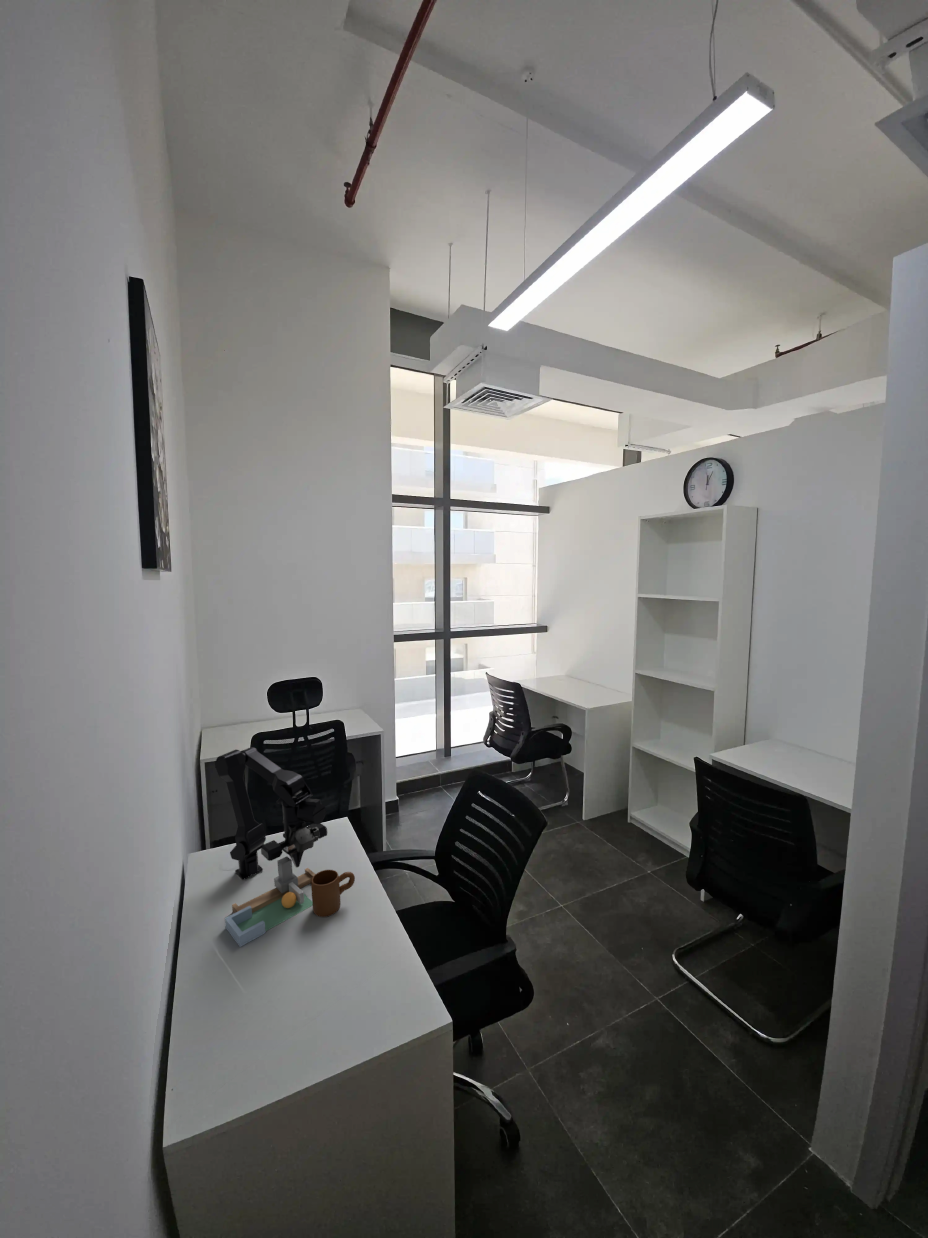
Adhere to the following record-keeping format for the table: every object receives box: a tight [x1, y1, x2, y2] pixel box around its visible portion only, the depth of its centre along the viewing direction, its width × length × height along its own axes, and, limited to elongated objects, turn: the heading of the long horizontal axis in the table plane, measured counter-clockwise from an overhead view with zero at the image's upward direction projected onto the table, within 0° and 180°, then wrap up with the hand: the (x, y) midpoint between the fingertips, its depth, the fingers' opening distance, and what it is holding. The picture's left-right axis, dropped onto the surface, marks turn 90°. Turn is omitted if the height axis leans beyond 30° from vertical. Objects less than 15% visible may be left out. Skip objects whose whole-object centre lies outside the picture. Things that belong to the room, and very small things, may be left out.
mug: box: [310, 869, 356, 918], centre depth 137 cm, size 12×8×9 cm, turn 112°
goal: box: [224, 906, 267, 948], centre depth 129 cm, size 10×7×3 cm, turn 45°
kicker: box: [273, 856, 305, 904], centre depth 142 cm, size 12×5×9 cm, turn 45°
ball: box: [282, 892, 296, 908], centre depth 138 cm, size 4×4×4 cm
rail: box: [231, 867, 316, 914], centre depth 143 cm, size 5×23×2 cm, turn 135°
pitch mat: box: [237, 893, 313, 932], centre depth 135 cm, size 10×21×1 cm, turn 135°
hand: (297, 866), depth 147 cm, fingers closed
